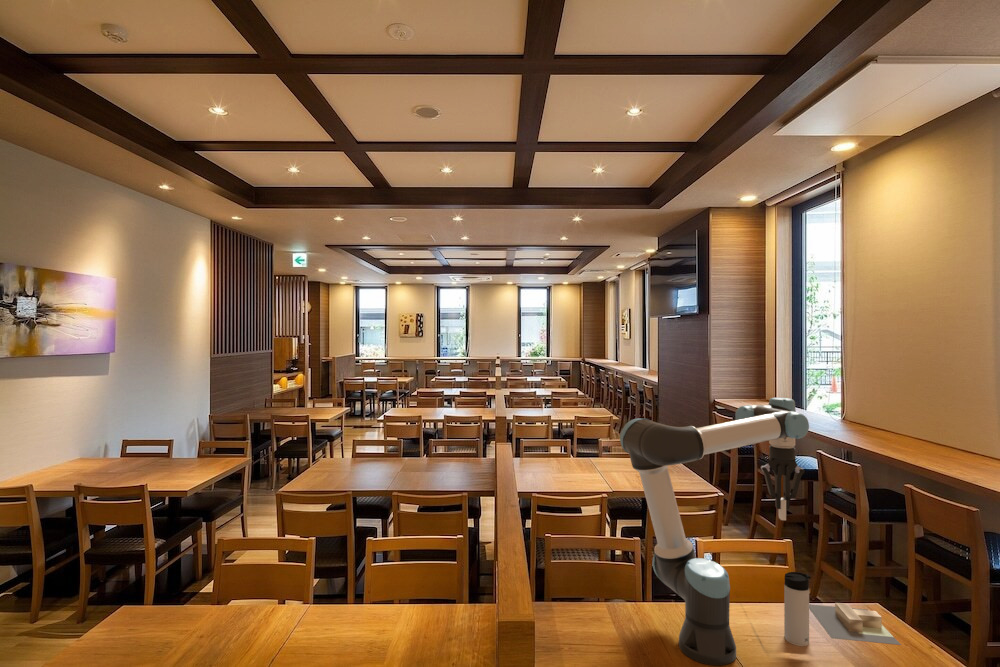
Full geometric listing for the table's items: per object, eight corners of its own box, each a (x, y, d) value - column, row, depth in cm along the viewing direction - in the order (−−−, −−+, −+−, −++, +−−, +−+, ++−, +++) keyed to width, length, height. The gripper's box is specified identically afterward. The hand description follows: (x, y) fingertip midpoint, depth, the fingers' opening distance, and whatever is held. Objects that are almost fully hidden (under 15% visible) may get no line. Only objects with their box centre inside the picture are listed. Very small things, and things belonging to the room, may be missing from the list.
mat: (831, 642, 156) (831, 637, 156) (806, 607, 175) (806, 604, 175) (901, 649, 152) (901, 644, 152) (867, 613, 172) (867, 609, 172)
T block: (849, 631, 159) (849, 619, 159) (835, 613, 169) (835, 602, 169) (887, 634, 157) (887, 622, 157) (870, 617, 167) (870, 605, 167)
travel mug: (813, 651, 151) (813, 580, 151) (788, 648, 152) (788, 578, 152) (806, 639, 157) (805, 570, 157) (781, 636, 158) (781, 568, 158)
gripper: (763, 447, 172) (764, 521, 172) (808, 449, 169) (808, 524, 169) (757, 442, 179) (757, 513, 179) (800, 444, 176) (800, 516, 176)
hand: (782, 518), depth 174 cm, fingers closed
